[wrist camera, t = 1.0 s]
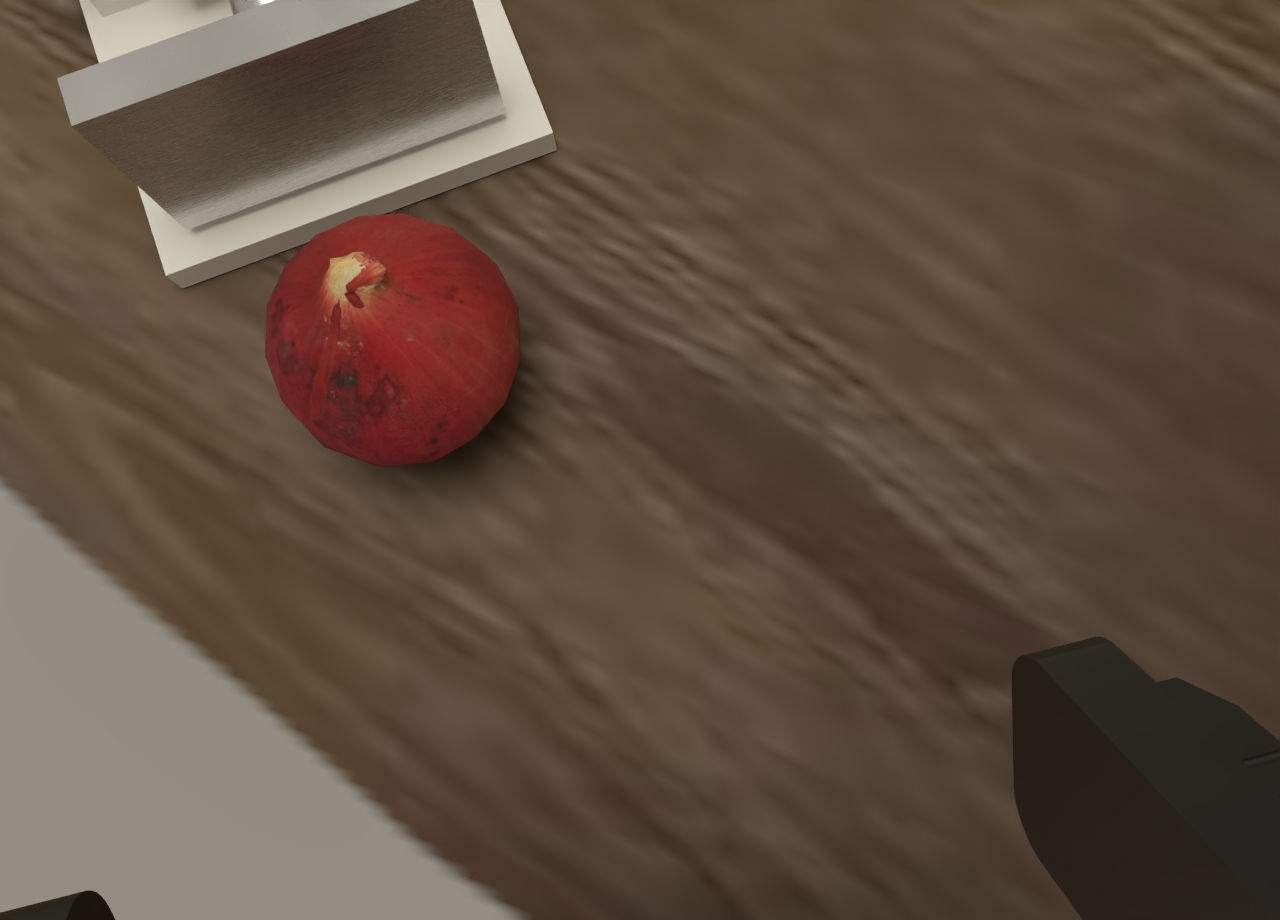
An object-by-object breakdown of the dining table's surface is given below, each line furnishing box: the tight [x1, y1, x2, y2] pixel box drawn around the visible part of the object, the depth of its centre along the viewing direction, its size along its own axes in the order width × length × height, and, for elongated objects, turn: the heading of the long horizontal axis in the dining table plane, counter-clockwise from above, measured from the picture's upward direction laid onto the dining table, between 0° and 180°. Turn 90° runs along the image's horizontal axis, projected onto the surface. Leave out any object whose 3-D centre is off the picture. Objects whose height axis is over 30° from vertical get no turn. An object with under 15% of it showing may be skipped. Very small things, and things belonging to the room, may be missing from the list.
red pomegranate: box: [265, 213, 520, 467], centre depth 25 cm, size 6×6×8 cm
